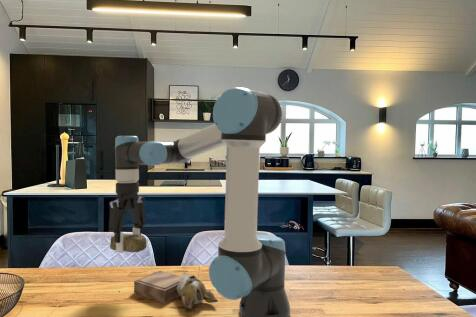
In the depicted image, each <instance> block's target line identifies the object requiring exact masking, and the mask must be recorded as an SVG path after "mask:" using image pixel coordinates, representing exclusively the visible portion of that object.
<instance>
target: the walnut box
mask: <svg viewBox="0 0 476 317" xmlns="http://www.w3.org/2000/svg"><path fill="white" fill-rule="evenodd" d="M182 276H183V275H177V274H174V273H170V272H167V271H163V270H158V271H155V272H153V273H151V274H147V275H146V276H144V277H140V278H138V279H136V280H134V281H133V282H134V283H133V293H134V294H136V295H138V296H142V297H145V298H148V299H150V300H151V299H152V300H154V301H157V302H159V303H162V304H167V303H168V302H170V301H173V300H174V299H176V298H178V297H181V296H180V295H179V294H178V292H177V286H178V283H179V281H180V279H181V277H182Z"/></svg>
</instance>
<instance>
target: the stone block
mask: <svg viewBox="0 0 476 317" xmlns="http://www.w3.org/2000/svg"><path fill="white" fill-rule="evenodd" d="M114 240H115V239H114V235H113V236H111V238H110V245H109V246H110V249H111V250H112V251H116V243H115V241H114ZM146 248H147V238H146V237H145V236H144V235H141V236H139V235H133V234H128V233H123V252H127V253H139V252H141V251H144V250H145V249H146Z"/></svg>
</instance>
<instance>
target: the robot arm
mask: <svg viewBox="0 0 476 317" xmlns="http://www.w3.org/2000/svg"><path fill="white" fill-rule="evenodd" d="M280 103H281V102H279V100H278V99H277V98H276V97H274V96H273V95H272V94H270V93H267V92H260V91H258V90H255V89H251V88H249V87H230V88H228V89H226V90H224V91H223V92H221V95H218V97H217V98H216V101H215V102H214V106H213V110H212V119H213V122H214V124H211V125H209V126H207V127H204V128H201V129H200V130H198V131H197V130H196V131H195V132H193V133H190V134H189V135H186V136H182V137H181V138H179V139H176V140H174V141H157V140H156V141H155V140H151V141H150V140H149V141H139V137H138V136H137V135H118V136H116V137H115V140H114V142H115V145H114V158H115V160H114V161H115V164H114V166H115V181H116V182H115V194H116V198H115V200H113V201H109V202H108V205H109V219H108V220H109V221H108V232H109V233H113V234H114V235H113V236H114V239H115V240H114V241H115V243H116V250H115V252H116V253H122V254H123V253H124V251H123V234H124V232H122V230H123V225H124V222H125V218H126V214H127V213H128V210H129V213H130V216H131V220H132V223H133V227H132V235H139V236H142V229H143V228H144V226H145V225H146V212H145V200H146V198H145V197H143V196H139V192H140V183H139V180H140V170H139V168H140V167H139V165H142V166H145V165H146V166H160V165H166V164H184V163H188V162H189V161H190V160H191V159H192V158H195V157H197V156H200V155H202V154H205V153H208V152H210V151H213V150H216V149H219V148H221V147H224V146H225V147H226V158H225V159H226V161H225V162H226V164H225V199H224V201H225V203H224V235H223V238H222V239H220V240H219V241H218V243H217V244H218V246H217V247H218V249H217V256H215V257H214V258H213V260H212V261H211V262H210V264H209V267H208V275H209V276H208V277H209V279H210V283H211V284H212V287H213V288H215V290H216V292H217V293H218V294H219V295H220V296H222V297H223V298H225V299H227V300H230V301H231V300H233V301H235V300H237V301H238V300H240V301H239V305H238V306H239V309H238V310H239V312H238V314H239V315H240V317H290V315H291V304H290V302H289V299H288V296H287V291H286V288H285V282H286V281H285V280H286V279H285V278H286V277H285V276H286V275H285V274H286V252H287V250H286V241H285V240H284V238H283V239H282V238H281V237H279V236H274V235H268V234H258V206H259V181H260V180H259V178H260V177H259V176H260V175H259V174H260V149H261V147H262V146H263V145H264V144H265V143H266V141H267V140H266V139H267V135H268V134H271V133H272V132H274V131H275V130H276V129H277V128H278V127H279V125H280V123H281V122H282V119H283V109H282V105H281V104H280Z"/></svg>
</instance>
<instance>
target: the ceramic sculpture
mask: <svg viewBox="0 0 476 317" xmlns="http://www.w3.org/2000/svg"><path fill="white" fill-rule="evenodd" d="M181 276H182V277H181V279H180V281H179V283H178V286H177V292H178V294H179V295H180V296H179V297H181V299H180V300H181V303H182V305H183V307H184V308H185V309H187V310H191V309H192V308H193V307H194V306H195V305H198V304H201V303H203V301H205V302H206V303H208V304H209V303H210V304H211V303H212V304H213V303H217V302H219V301H218V300H217V299H216V296H215V295H214V293H213V291H212V290H210V289H207V288H206V286H205V284H204V283H203V282H202V281H201V280H199V278H198V277H197V276H196V275H190V274H188V273H186V272H183V274H182V275H181Z"/></svg>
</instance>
